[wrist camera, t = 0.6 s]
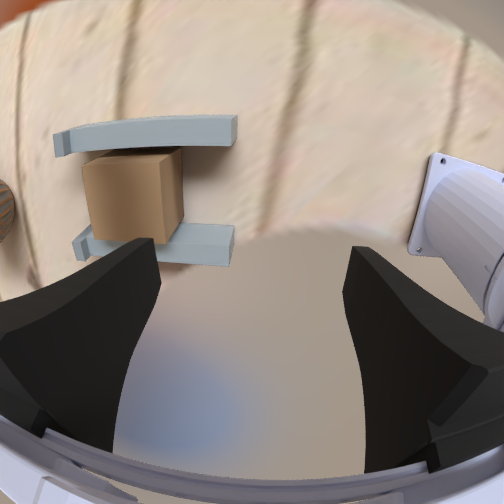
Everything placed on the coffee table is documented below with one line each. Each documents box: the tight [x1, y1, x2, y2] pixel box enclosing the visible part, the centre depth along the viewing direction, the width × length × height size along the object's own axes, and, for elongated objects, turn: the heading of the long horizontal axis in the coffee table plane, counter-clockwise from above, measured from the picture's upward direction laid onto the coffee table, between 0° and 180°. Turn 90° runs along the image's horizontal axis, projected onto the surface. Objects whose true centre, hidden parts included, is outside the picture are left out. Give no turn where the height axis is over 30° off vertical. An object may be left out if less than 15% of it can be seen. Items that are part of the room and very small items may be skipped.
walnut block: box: [82, 147, 184, 244], centre depth 17 cm, size 5×5×4 cm
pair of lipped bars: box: [53, 115, 237, 267], centre depth 17 cm, size 11×9×4 cm
